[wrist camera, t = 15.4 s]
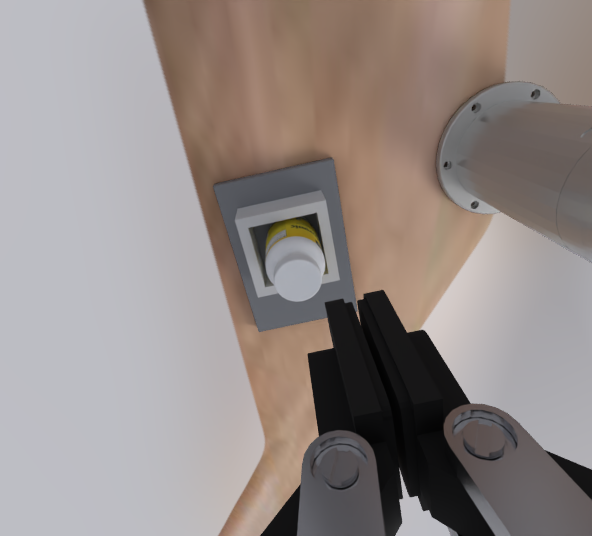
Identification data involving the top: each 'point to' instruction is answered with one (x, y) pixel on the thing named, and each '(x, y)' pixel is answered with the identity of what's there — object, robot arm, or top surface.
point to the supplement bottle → (294, 258)
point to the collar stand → (276, 207)
